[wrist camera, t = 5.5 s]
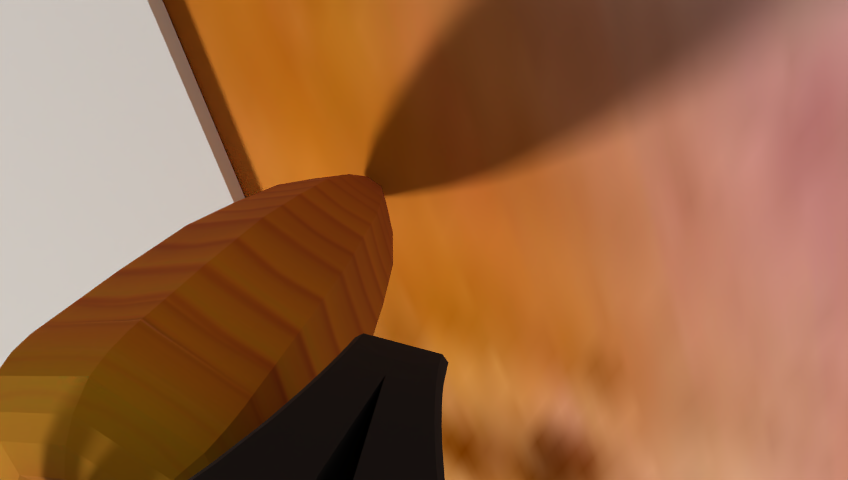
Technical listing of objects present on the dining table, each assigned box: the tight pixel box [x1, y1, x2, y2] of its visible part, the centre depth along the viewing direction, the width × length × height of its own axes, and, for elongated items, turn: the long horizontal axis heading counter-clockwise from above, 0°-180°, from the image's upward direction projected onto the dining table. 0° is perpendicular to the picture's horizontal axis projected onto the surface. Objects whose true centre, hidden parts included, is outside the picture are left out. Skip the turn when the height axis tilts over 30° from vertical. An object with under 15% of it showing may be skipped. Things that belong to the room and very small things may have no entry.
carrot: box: [0, 174, 393, 480], centre depth 12 cm, size 5×5×15 cm
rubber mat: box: [0, 0, 245, 367], centre depth 22 cm, size 17×20×1 cm
